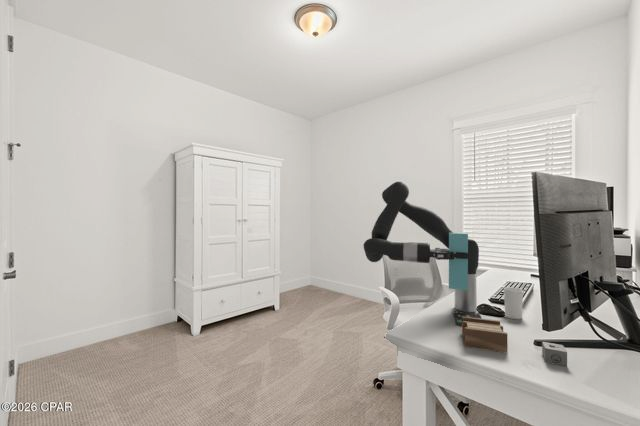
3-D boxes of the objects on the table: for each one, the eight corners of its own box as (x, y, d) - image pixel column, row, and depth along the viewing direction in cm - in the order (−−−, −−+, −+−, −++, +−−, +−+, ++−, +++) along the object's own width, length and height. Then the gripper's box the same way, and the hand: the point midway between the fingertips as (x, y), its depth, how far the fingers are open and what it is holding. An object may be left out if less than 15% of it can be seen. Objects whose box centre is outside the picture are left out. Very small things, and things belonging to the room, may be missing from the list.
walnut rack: (462, 334, 106) (461, 316, 106) (499, 339, 102) (499, 320, 102) (465, 348, 95) (465, 328, 95) (507, 355, 91) (507, 333, 91)
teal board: (448, 286, 106) (449, 232, 106) (466, 288, 104) (467, 233, 104) (449, 288, 103) (449, 233, 104) (467, 290, 101) (468, 233, 101)
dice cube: (542, 357, 89) (542, 341, 89) (562, 361, 87) (562, 345, 87) (545, 365, 85) (545, 348, 85) (567, 369, 82) (567, 352, 82)
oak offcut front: (467, 342, 98) (467, 325, 98) (501, 347, 94) (501, 329, 94) (468, 345, 96) (468, 327, 96) (502, 350, 92) (502, 331, 92)
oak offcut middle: (466, 339, 100) (466, 322, 100) (500, 344, 96) (499, 326, 96) (467, 342, 98) (467, 324, 98) (501, 347, 94) (501, 328, 94)
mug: (526, 320, 120) (525, 291, 120) (508, 319, 121) (508, 290, 121) (514, 312, 130) (514, 285, 130) (498, 311, 131) (498, 285, 131)
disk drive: (453, 316, 127) (456, 328, 113) (453, 310, 127) (455, 321, 113) (479, 319, 123) (485, 332, 109) (479, 312, 123) (485, 324, 109)
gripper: (415, 244, 103) (469, 246, 96) (417, 241, 116) (465, 243, 109) (415, 265, 103) (469, 269, 96) (417, 259, 116) (465, 262, 109)
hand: (466, 255), depth 103 cm, fingers closed on teal board, 3 cm apart
